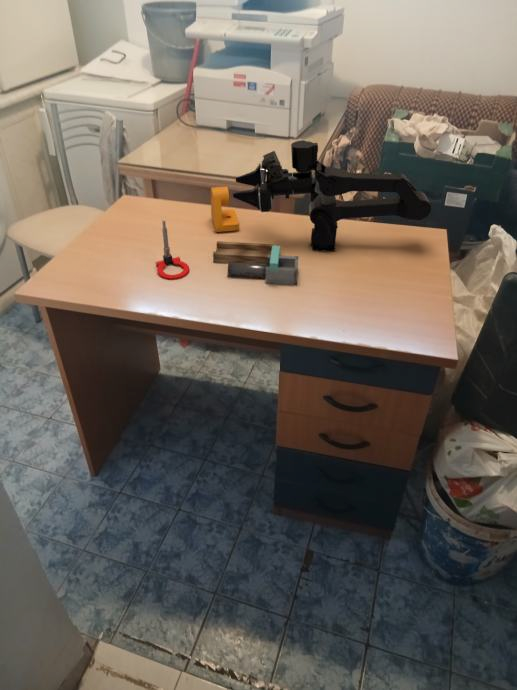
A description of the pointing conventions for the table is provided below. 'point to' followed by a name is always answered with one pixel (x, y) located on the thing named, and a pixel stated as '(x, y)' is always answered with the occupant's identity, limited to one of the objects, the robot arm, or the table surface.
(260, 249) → the rail
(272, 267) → the teal rectangular block
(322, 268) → the table surface
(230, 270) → the rod
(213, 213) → the bracket
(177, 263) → the tow hook
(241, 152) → the table surface
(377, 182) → the robot arm
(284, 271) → the socket
